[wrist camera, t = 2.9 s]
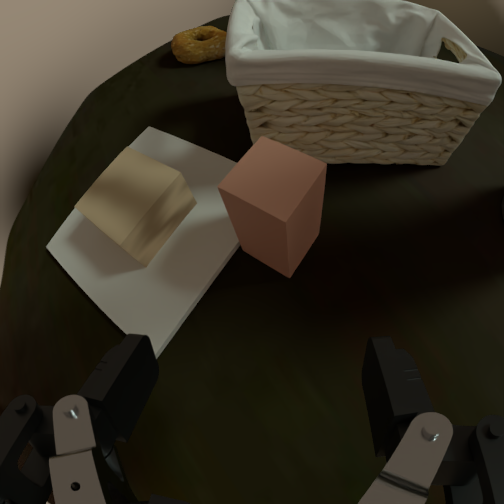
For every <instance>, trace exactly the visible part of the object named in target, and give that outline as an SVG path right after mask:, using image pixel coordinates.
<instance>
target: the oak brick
mask: <svg viewBox="0 0 504 504" xmlns="http://www.w3.org/2000/svg"><path fill="white" fill-rule="evenodd" d="M196 204H197V202H196V200H195V198H194V196H193V194H192V193H191V191H190V189H189V187H188V185H187V183H186V181H185V179H184V177H183V176H182V174H181V172H179V171H177V170H175V169H173V168H171V167H169V166H167V165H165V164H163V163H161V162H159V161H157V160H155V159H152V158H150V157H148V156H146V155H144V154H142V153H140V152H138V151H136V150H134V149H132V148H130V147H128V146H127V147H126V148H125V149H124V150H123V151H122V152H121V153H120V154H119V155H118V156H117V158H116V159H115V160H114V161H113V162H112V163H111V164H110V165H109V166H108V167H107V169H106V170H105V171H104V172H103V173H102V174H101V175H100V176H99V178H98V179H97V180H96V181H95V182H94V183H93V185H92V186H91V187H90V188H89V189H88V191H87V192H86V193H85V194H84V195H83V197H82V198H81V199H80V200H79V202H78V203H77V204H76V205H75V208H76V209H77V210H78V211H80V212H81V213H82V214H83V215H84V216H85V217H86V218H87V219H88V220H89V221H91V222H92V223H93V224H94V225H95V226H96V227H97V228H98V229H100V230H101V231H102V232H103V233H104V234H105V235H107V236H108V237H109V238H110V239H111V240H113V241H114V242H115V243H116V244H117V245H119V246H120V247H121V248H122V249H123V250H125V251H126V252H127V253H128V254H129V255H131V256H132V257H133V258H134V259H136V260H137V261H138V262H139V263H141V264H142V265H143V266H144V267H147V266H148V264H149V263H150V262H151V260H152V259H153V258H154V257H155V255H156V254H157V253H158V251H159V250H160V249H161V247H162V246H163V245H164V244H165V242H166V241H167V240H168V239H169V237H170V236H171V235H172V233H173V232H174V231H175V230H176V228H177V227H178V226H179V225H180V223H181V222H182V221H183V220H184V219H185V217H186V216H187V215H188V214H189V212H190V211H191V210H192V209H193V208H194V206H195V205H196Z"/></svg>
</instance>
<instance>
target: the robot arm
mask: <svg viewBox="0 0 504 504" xmlns="http://www.w3.org/2000/svg"><path fill="white" fill-rule="evenodd" d="M501 208H502V216H503V220H504V196H503V199H502V204H501ZM158 375H159V366H158V363H157V359H156V356H155V353H154V350H153V347H152V344H151V340H150V338H149V336H147V335H141V334H131V333H129V334H127V335H126V337H125V338H124V340H123V341H122V342H121V344H120V345H116V346H114V347H113V348H112V349H110V350H109V351H108V352H106V354H105V355H104V357H103V358H102V359H101V362H100V363H99V364H98V365H97V366H96V368H95V370H93V372H92V373H91V375H90V376H89V378H88V379H87V380H86V382H85V383H84V385H83V386H82V388H81V389H80V390H79V392H78V393H77V395H69V396H66V397H64V398H62V399H60V400H59V401H58V402H57V403H56V404H55V406H39V405H38V404H37V402H36V401H35V399H34V398H33V397H32V396H30V395H21V396H18V397H16V398H15V399H13V400H12V401H11V402H10V403H9V405H8V406H7V408H6V409H5V410H4V412H3V413H2V415H1V416H0V504H46V502H47V500H48V498H49V495H50V493H51V491H52V489H53V493H54V499H55V504H190V503H188V502H185V501H181V500H176V499H171V498H167V497H163V496H158V495H154V494H151V497H150V500H149V501H140V502H139V501H138V500H137V498H136V496H135V495H134V493H133V492H132V490H131V488H130V486H129V483H128V481H127V478H126V475H125V472H124V469H123V466H122V464H121V461H120V457H119V454H118V451H117V448H116V447H115V445H114V442H115V440H119V441H122V442H126V443H127V442H128V439H129V437H130V435H131V433H132V431H133V429H134V427H135V425H136V423H137V421H138V418H139V416H140V414H141V412H142V410H143V408H144V406H145V404H146V402H147V400H148V398H149V396H150V394H151V392H152V390H153V388H154V386H155V384H156V381H157V379H158ZM362 386H363V391H364V395H365V400H366V405H367V410H368V416H369V421H370V426H371V432H372V438H373V443H374V449H375V456H376V457H381V456H386V461H387V464H386V466H385V467H384V469H383V470H382V472H381V473H380V474H379V475H378V477H377V478H376V480H375V481H374V482H373V484H372V485H371V487H370V488H369V489H368V491H367V492H366V493H365V495H364V496H363V497H362V499H361V500H360V501H359V503H358V504H424V503H425V501H426V499H427V497H428V494H429V493H428V492H427V491H428V489H429V486H430V485H443V487H444V493H445V500H446V504H504V418H503V417H501V416H498V415H489V416H486V417H484V418H483V419H481V420H480V422H479V423H478V425H477V426H456V425H452V424H451V423H450V421H449V420H448V419H447V418H446V417H445V416H443V415H441V414H439V413H435V411H434V409H433V406H432V404H431V401H430V398H429V396H428V393H427V391H426V388H425V386H424V383H423V381H422V379H421V376H420V374H419V371H418V370H417V366H416V364H415V362H414V359H413V357H412V356H411V355H409V354H408V353H407V352H406V351H405V350H404V349H395V346H394V344H393V341H392V339H391V337H390V336H382V337H370V338H369V339H368V342H367V348H366V353H365V358H364V363H363V368H362ZM28 442H29V443H30V445H31V446H32V447H33V449H32V451H31V453H30V455H29V457H28V458H27V460H26V462H25V464H24V466H23V467H22V469H21V471H20V470H19V469H18V465H17V462H18V459H19V457H20V455H21V453H22V451H23V450H24V448H25V446H26V445H27V443H28Z"/></svg>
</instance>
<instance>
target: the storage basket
mask: <svg viewBox="0 0 504 504" xmlns="http://www.w3.org/2000/svg"><path fill="white" fill-rule="evenodd" d="M441 41H444V43H445V44H446V45H447V46H446V45H445V47H446V48H447V49H448V50H449V49H450V50H451V51H452V52H453V53H454V55H455V56H456V57H457V59H458V60H459V62H460V63H459V64H458V63H454V62H449V61H444V60H439V59H437V58H436V57H437V55H438V53H439V51H440V47H441ZM225 61H226V70H227V71H226V74H227V79H228V81H229V83H230V84H231V85H233V86H236V89H237V92H238V97H239V100H240V103H241V105H242V106H243V108H244V109H245V111H244V112H245V117H246V118H247V125H248V127H249V130H250V137H251V140H252V142H253V145H254V144H255V143H256V142H257V141H258V139H259V138H260V137H261V136H264V137H266V138H269V139H271V140H274V141H276V142H279V143H281V144H283V145H286V146H288V147H291V148H293V149H295V150H298V151H300V152H302V153H304V154H307V155H309V156H311V157H313V158H316V159H318V160H320V161H322V162H324V163H329V164H341V163H348V162H349V163H377V164H393V163H396V165H397V164H404V163H406V164H417V165H437V166H441V165H444V164H445V163H446V162H447V160H448V158H449V157H450V156H451V154H452V152H454V151H455V149H456V148H457V147H458V146H459V144H460V143H461V142H462V141H463V138H464V136H465V135H466V134H467V133H468V132H469V130H470V128H471V127H472V126H473V125H474V122H475V121H476V120H477V119H478V117H479V116H480V113H481V112H483V111H484V110H485V108H486V107H487V106H489V104H490V103H491V102H492V101H493V99H494V96H495V93H496V91H497V89H498V88H499V86H500V85H501V79H502V78H501V76H500V74H499V72H498V71H497V70H496V69H495V68H494V67H493V66H492V65H491V63H490V62H489V61H488V59H487V58H486V57H485V56H484V55H483V54H482V52H481V51H480V50H479V49H478V48H477V47H476V46H475V45H474V44H473V43H472V41H471V40H470V39H469V38H468V37H467V36H466V35H465V34H463V33H462V32H461V30H459V29H458V28H457V27H456V26H455V25H454V24H453V23H452V22H451V21H450V20H448V19H447V18H446V17H445V16H444V15H443V14H442V13H440V12H439V11H438V10H434V9H430V8H427V7H424V6H421V5H418V4H414V3H410V2H407V1H402V0H236V1H235V4H234V6H233V8H232V11H231V15H230V18H229V23H228V28H227V35H226V43H225Z"/></svg>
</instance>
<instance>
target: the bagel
mask: <svg viewBox="0 0 504 504" xmlns="http://www.w3.org/2000/svg"><path fill="white" fill-rule="evenodd" d="M226 35H227V32H225V31H223V30H222V31H221V30H219V29H217V28H215V27H213V26H205V27H202V26H201V27H197V28H193V29H190V30H186V31H183V32H180V33H178V34H176V35H175V36H174V37H173V40H172V43H171V48H172V52H173V54H174V55H175V56H176V58H177V60H178V61H180V62H182V63H185V64H198V63H203V62H205V61H212V60H216V59H222V58H223V57H225V43H226Z"/></svg>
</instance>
